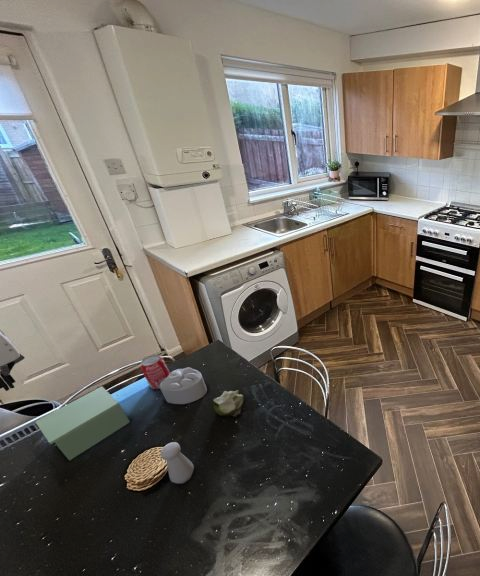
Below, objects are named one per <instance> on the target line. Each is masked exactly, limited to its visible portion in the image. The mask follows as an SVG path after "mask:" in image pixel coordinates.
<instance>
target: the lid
mask: <svg viewBox="0 0 480 576" xmlns="http://www.w3.org/2000/svg"><path fill="white" fill-rule="evenodd" d="M119 404H120V403H119V402H118V401H117V399H115V397H114V396H112V394H110V392H109V391H107V389H106V388H105V387H104V386H100V387H98V388H96V389H94V390H92V391H90V392H88V393H87V394H84V395H83V396H80V397H79V398H77V399H75V400H72V401H71V402H69V403H67V404H66V405H63V406H61V407H60V408H58V409H56V410H54V411H52V412H51V413H49V414H46V415H44V416H43V417H41V418H39V419H38V420H36V421H34V422H35V424H36V425H37V427H38V428H39V430H40V431H41V433H42V434H43V436H44V438H45V439H46V441H47V442H48V443H49V445H53V444H55V442H56V441H58V440H59V439H61V438H63V437H65V436H66V435H68V434H70V433H71V432H73V431H75V430H77V429H78V428H80V427H82V426H83V425H85V424H87V423H88V422H90V421H92V420H94V419H95V418H97V417H99V416H100V415H102V414H104V413H105V412H107V411H109V410H111V409H112V408H114V407H116V406H117V405H119Z"/></svg>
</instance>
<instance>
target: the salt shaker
mask: <svg viewBox="0 0 480 576" xmlns="http://www.w3.org/2000/svg"><path fill="white" fill-rule="evenodd" d="M160 457H161V459H162V460H164V461H166V465H167V470H168V471H167V472H168V477H169V480H170V482H171V483H174V484H181V485H182V484H185V483H186V482H187V481H189V480H190V479H191V477H192V475H193V473H194V470H195V466H194V464H193V462H192V461H191V460H190V459H189V458H188V457H186V456H185V455H184V454H183V453H182V451H181V445H180V444H179V443H178V442H176V441H173V442H169V443H167V444H165V446H163V447H162V449H161V450H160Z"/></svg>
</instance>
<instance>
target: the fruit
mask: <svg viewBox="0 0 480 576" xmlns="http://www.w3.org/2000/svg"><path fill="white" fill-rule="evenodd" d="M212 402H213V404H208V406H209V407H213V409H214V411H215V413H217V414H218V415H219V416H231V417H235V418H236V417H237V415H241V411H242V406H243V403H244V395H243V394H242V393H240V390H239V389H237V390H234V391H233V390H230V391H227V390H224V391H223V392H222V394H221V395H220V396H218V397H216V398H214V399H213V400H212Z"/></svg>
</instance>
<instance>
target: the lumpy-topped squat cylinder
mask: <svg viewBox="0 0 480 576" xmlns="http://www.w3.org/2000/svg"><path fill="white" fill-rule="evenodd" d="M159 390H160V391H161V393H162V394H163V398H164V399H165V401H166V403H168V404H174V405H186V404H190V403H193V402H195V401H198V400H199V399H201V398H203V397H204V396H205V395H206V394H207V392H208V388H207V385H206V383H205V380H204V377H203V374H202V373H201V372H200V371H199V370H197V369H194V368H192V367H185V368H177V369H175V370H174V369H173V370H172V371H170V374H169V375H168V377H167V378H166V379H165V380H164V381H162V382H161V383H160V389H159Z"/></svg>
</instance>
